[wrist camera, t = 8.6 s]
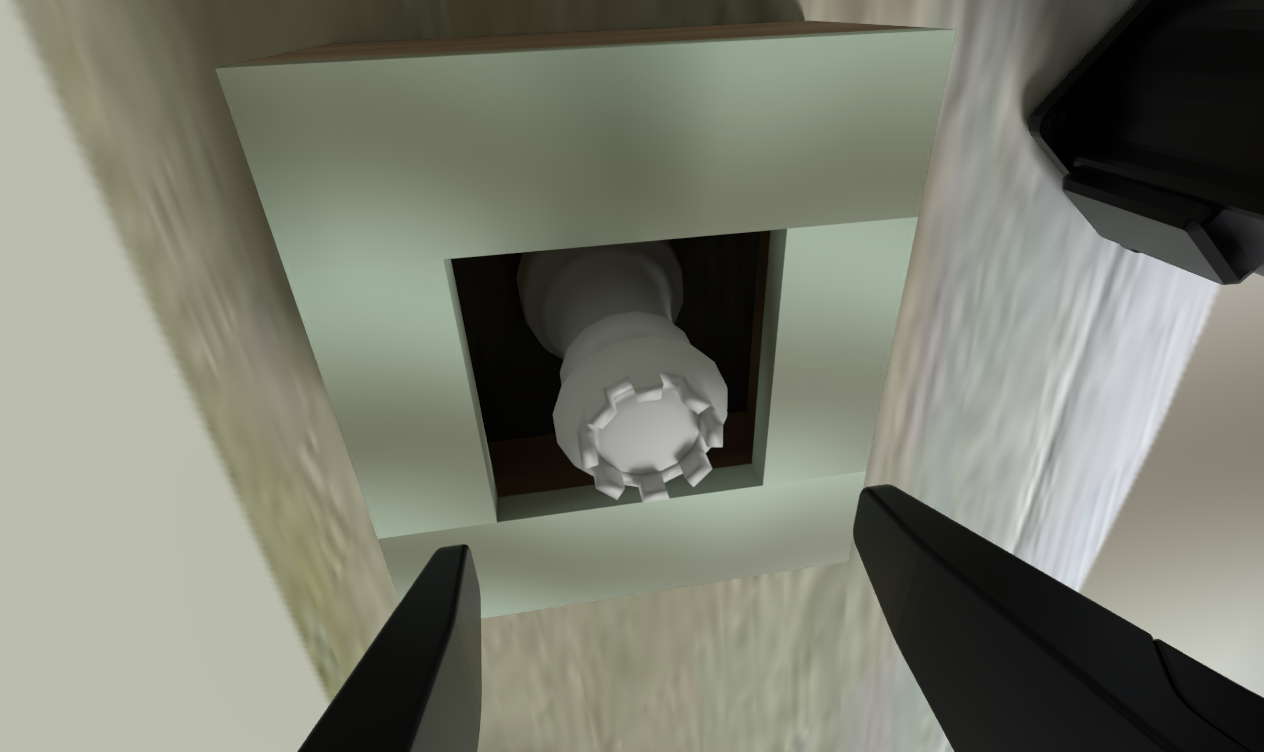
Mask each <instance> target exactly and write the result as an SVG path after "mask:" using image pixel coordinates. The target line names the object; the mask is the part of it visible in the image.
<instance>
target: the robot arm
mask: <svg viewBox="0 0 1264 752" xmlns="http://www.w3.org/2000/svg"><path fill="white" fill-rule="evenodd" d="M1054 114H1055V121H1054V122H1053V124H1052V125H1051V126H1050V127H1049V128H1048V123H1049V120H1050V119H1051V117H1052V116H1053V115H1054ZM1029 131H1030V133H1031V136H1032V137H1033V138H1034V139H1035V141H1036V142H1037V143H1038V144H1039V145H1040V147H1041V148H1042V149H1043V150H1044V152H1045V153H1046V154H1047V155H1048V157H1049V158H1050V159H1051V160H1052V161H1053V163H1054V164H1055V165H1056V166H1057V168H1058V169H1059V170H1060V171H1061V173H1062V174H1063V175H1064V176H1065V177H1064V178H1063V179H1062V190H1063V192H1064V193H1065V194H1066V195H1067V196H1068V198H1069V199H1070V200H1071V201H1072V202H1073V204H1074V205H1075V206H1076V207H1077V208H1078V210H1079V211H1080V212H1081V213H1082V214H1083V216H1084V217H1085V218H1086V219H1087V221H1088V222H1089V223H1090V224H1091V225H1092V227H1093V228H1094V229H1095V230H1096V231H1097V233H1098V234H1099V235H1100V236H1102V237H1103V238H1106V239H1108V240H1111V241H1113V242H1116V243H1119V244H1120V245H1121V246H1122V247H1124V248H1125V249H1128V250H1130V251H1133V252H1135V253H1144V254H1146V255H1149V256H1151V257H1154V258H1156V259H1159V260H1161V261H1164V262H1166V263H1169V264H1171V265H1174V266H1176V267H1179V268H1181V269H1184V270H1186V271H1189V272H1191V273H1194V274H1196V275H1199V276H1201V277H1204V278H1206V279H1209V280H1211V281H1214V282H1216V283H1219V284H1221V285H1228V284H1239V283H1241V282H1242V281H1243V280H1244V279H1246V278H1247V277H1248V276H1249V275H1250V274H1252V273H1256V274H1259V275H1261V276H1264V0H1138V1H1137V3H1136V4H1135V5H1134V6H1133V7H1132V8H1131V9H1130V10H1129V11H1128V12H1127V13H1126V14H1125V15H1124V16H1123V17H1122V18H1121V20H1120V21H1119V22H1118V23H1117V24H1116V25H1115V26H1114V27H1113V28H1112V29H1111V30H1110V31H1109V32H1108V33H1107V34H1106V35H1105V36H1104V38H1103V39H1102V40H1101V41H1100V42H1099V43H1098V44H1097V45H1096V46H1095V47H1094V48H1093V49H1092V50H1091V51H1090V52H1089V53H1088V55H1087V56H1086V57H1085V58H1084V59H1083V60H1082V61H1081V62H1080V63H1079V64H1078V65H1077V66H1076V67H1075V68H1074V69H1073V70H1072V72H1071V73H1070V74H1069V75H1068V76H1067V77H1066V78H1065V79H1064V80H1063V81H1062V82H1061V83H1060V84H1059V85H1058V86H1057V87H1056V88H1055V90H1054V91H1053V92H1052V93H1051V94H1050V95H1049V96H1048V97H1047V98H1046V99H1045V100H1044V101H1043V102H1042V103H1041V104H1040V105H1039V107H1038V108H1037V109H1036V110H1035V112H1034V113H1033V114H1032V116H1031V119H1030V122H1029ZM853 537H854V541H855V544H856V547H857V549H858V552H859V554H860V557H861V559H862V562H863V564H864V567H865V569H866V572H867V574H868V576H869V579H870V581H871V584H872V586H873V589H874V591H875V594H876V596H877V598H878V601H879V603H880V606H881V608H882V611H883V613H884V616H885V618H886V621H887V623H888V625H889V628H890V630H891V632H892V634H893V637H894V639H895V641H896V643H897V645H898V647H899V649H900V651H901V653H902V655H903V657H904V658H905V660H906V662H907V664H908V666H909V668H910V670H911V671H912V673H913V675H914V677H915V679H916V681H917V683H918V685H919V686H920V688H921V690H922V692H923V694H924V696H925V698H926V699H927V701H928V703H929V705H930V707H931V709H932V711H933V713H934V714H935V716H936V718H937V720H938V722H939V724H940V726H941V727H942V729H943V731H944V733H945V735H946V737H947V739H948V740H949V742H950V744H951V746H952V748H953V750H954V752H1264V698H1263V697H1261V696H1259V695H1257V694H1256V693H1254V692H1252V691H1250V690H1248V689H1246V688H1245V687H1243V686H1241V685H1239V684H1237V683H1236V682H1234V681H1232V680H1230V679H1228V678H1227V677H1225V676H1223V675H1221V674H1220V673H1218V672H1216V671H1214V670H1212V669H1210V668H1209V667H1207V666H1205V665H1203V664H1202V663H1200V662H1198V661H1196V660H1194V659H1193V658H1191V657H1189V656H1188V655H1186V654H1184V653H1182V652H1181V651H1179V650H1177V649H1175V648H1174V647H1172V646H1170V645H1168V644H1167V643H1165V642H1163V641H1162V640H1160V639H1153V637H1152V636H1151V634H1149V633H1147V632H1146V631H1144V630H1142V629H1140V628H1139V627H1137V626H1135V625H1134V624H1132V623H1130V622H1128V621H1127V620H1125V619H1123V618H1121V617H1120V616H1118V615H1116V614H1115V613H1113V612H1111V611H1109V610H1108V609H1106V608H1104V607H1102V606H1101V605H1099V604H1097V603H1095V602H1094V601H1092V600H1090V599H1089V598H1087V597H1085V596H1083V595H1082V594H1080V593H1078V592H1076V591H1075V590H1073V589H1071V588H1070V587H1068V586H1066V585H1064V584H1063V583H1061V582H1059V581H1057V580H1056V579H1054V578H1052V577H1051V576H1049V575H1047V574H1045V573H1044V572H1042V571H1040V570H1038V569H1037V568H1035V567H1033V566H1032V565H1030V564H1028V563H1026V562H1025V561H1023V560H1021V559H1019V558H1018V557H1016V556H1014V555H1012V554H1011V553H1009V552H1007V551H1006V550H1004V549H1002V548H1000V547H999V546H997V545H995V544H993V543H992V542H990V541H988V540H987V539H985V538H983V537H981V536H980V535H978V534H976V533H974V532H973V531H971V530H969V529H968V528H966V527H964V526H962V525H961V524H959V523H957V522H955V521H954V520H952V519H950V518H948V517H947V516H945V515H943V514H942V513H940V512H938V511H936V510H935V509H933V508H931V507H929V506H928V505H926V504H924V503H923V502H921V501H919V500H917V499H916V498H914V497H912V496H910V495H909V494H907V493H905V492H904V491H902V490H900V489H898V488H897V487H895V486H892V485H888V484H885V485H878V486H871V487H866V488H864V489H863V490H862V491H861V492H860V495H859V500H858V505H857V510H856V515H855V520H854V525H853ZM481 695H482V679H481V595H480V587H479V582H478V577H477V573H476V569H475V565H474V561H473V557H472V553H471V549H470V547H469V546H468V545H466V544H460V545H453V546H446V547H441V548H439V549H437V550H436V551H435V552H434V554H433V555H432V557H431V558H430V560H429V561H428V563H427V564H426V565H425V567H424V568H423V570H422V571H421V573H420V574H419V576H418V577H417V579H416V580H415V581H414V583H413V584H412V586H411V587H410V589H409V590H408V592H407V593H406V595H405V596H404V597H403V599H402V600H401V602H400V603H399V605H398V606H397V608H396V609H395V611H394V612H393V613H392V615H391V616H390V618H389V619H388V621H387V622H386V624H385V625H384V627H383V628H382V629H381V631H380V632H379V634H378V635H377V637H376V638H375V640H374V641H373V643H372V644H371V645H370V647H369V648H368V650H367V651H366V653H365V654H364V656H363V657H362V659H361V660H360V661H359V663H358V664H357V666H356V667H355V669H354V670H353V672H352V673H351V675H350V676H349V677H348V679H347V680H346V682H345V683H344V685H343V686H342V688H341V689H340V691H339V692H338V693H337V695H336V696H335V698H334V699H333V701H332V702H331V704H330V705H329V707H328V708H327V709H326V711H325V712H324V714H323V715H322V717H321V718H320V720H319V721H318V723H317V724H316V725H315V727H314V728H313V730H312V731H311V733H310V734H309V736H308V737H307V739H306V740H305V742H304V743H303V744H302V746H301V747H300V749H299V750H298V752H477V749H478V740H479V731H480V719H481Z"/></svg>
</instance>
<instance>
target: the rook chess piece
mask: <svg viewBox="0 0 1264 752" xmlns="http://www.w3.org/2000/svg"><path fill="white" fill-rule="evenodd" d="M516 279H517V284H518V290H519V296H520V301H521V307H522V308H523V314H524V319H525V321H526V323H527V324H528V326H529V327H530V328H531V330H532V331H533V333H534V334H535V336H536V337H537V339H538V340H539V342H540V343H541V344H542V346H543V347H544V348H545V349H546V350H548V351H549V352H551V353H553V354H554V355H556V356H557V357H559V358H560V359H562V360H563V364H562V367H561V370H560V377H561V384H562V387H561V390H560V393H559V396H558V399H557V402H556V406H555V409H554V412H553V419H554V425H555V431H556V437H557V443H558V445H559V446H560V447H561V449H562V450H563V451H564V453H565V454H566V455H567V457H568V458H569V459H570V461H571V462H572V463H573V465H574V466H576V467H577V468H579V469H581V470H583V471H585V472H586V473H588V474H590V475H592V476H594V481H595V486H596V489H598V490H600V491H601V492H603V493H605V494H607V495H609V496H611V497H613V498H614V499H616V500H618V498H619V497H620V495H621V494H622V492H623V491H624V489H625V486H624V485H628V486H635V487H639V491H640V495H641V498H642V502H643V504H644V503H650V502H656V501H661V500H667V499H669V496H668V493H667V490H666V487H665V482H667V481H669V480H671V479H673V478H675V477H677V476H679V475H681V474H683V475H684V478H685V479H686V480H687V481H688V482H689V483H690V484H691V485H692V486H693V487H694V486H695V485H696V484H698V483H699V482H700V481H701V480H702V479H703V478H704V477H705V476H706V475H707V474H708V473H709V472H710V471H711V470H712V467H711V465H710V462H709V460H708V458H707V456H706V452H707V451H708V450H709V449H710V448H711V447H723V424H724V422H725V420H726V418H727V386H726V384H725V382H724V380H723V378H722V376H721V374H720V372H719V370H718V368H717V366H716V364H715V362H714V361H712V360H711V359H710V358H708V357H707V356H706V355H704V354H703V353H701V352H700V351H699V350H697V349H696V348H695V347H693V346H692V345H691V344H690V342H689V340H688V338H687V336H686V334H685V332H683V331H682V330H681V329H679V328H678V327H677V326H675V323H676V320H677V317H678V315H679V312H680V310H681V307H682V305H683V275H682V267H681V265H680V263H679V261H678V259H677V255H676V253H675V251H674V249H673V247H672V244H671V242H670V240H669V239H666V240H655V241H644V242H633V243H621V244H610V245H599V246H588V247H577V248H565V249H554V250H543V251H532V252H522V256H521V260H520V264H519V268H518V272H517V276H516Z"/></svg>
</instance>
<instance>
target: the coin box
mask: <svg viewBox="0 0 1264 752" xmlns="http://www.w3.org/2000/svg"><path fill="white" fill-rule="evenodd" d="M956 30H957V29H941V28H924V27H907V26H890V25H873V24H856V23H839V22H821V21H789V22H768V23H748V24H728V25H707V26H687V27H667V28H646V29H626V30H606V31H586V32H565V33H545V34H525V35H504V36H484V37H464V38H443V39H423V40H403V41H383V42H362V43H342V44H326V45H321V46H317V47H312V48H307V49H303V50H298V51H293V52H289V53H284V54H279V55H275V56H270V57H265V58H261V59H256V60H251V61H247V62H242V63H237V64H233V65H228V66H224V67H219V68H215V70H216V73H217V76H218V79H219V82H220V85H221V87H222V90H223V93H224V96H225V99H226V102H227V105H228V108H229V111H230V113H231V116H232V119H233V122H234V125H235V128H236V131H237V134H238V136H239V139H240V142H241V145H242V148H243V151H244V154H245V157H246V160H247V162H248V165H249V168H250V171H251V174H252V177H253V180H254V183H255V186H256V188H257V191H258V194H259V197H260V200H261V203H262V206H263V209H264V212H265V214H266V217H267V220H268V223H269V226H270V229H271V232H272V235H273V237H274V240H275V243H276V246H277V249H278V252H279V255H280V258H281V261H282V263H283V266H284V269H285V272H286V275H287V278H288V281H289V284H290V287H291V289H292V292H293V295H294V298H295V301H296V304H297V307H298V310H299V313H300V315H301V318H302V321H303V324H304V327H305V330H306V333H307V336H308V338H309V341H310V344H311V347H312V350H313V353H314V356H315V359H316V362H317V364H318V367H319V370H320V373H321V376H322V379H323V382H324V385H325V388H326V390H327V393H328V396H329V399H330V402H331V405H332V408H333V411H334V414H335V416H336V419H337V422H338V425H339V428H340V431H341V434H342V437H343V439H344V442H345V445H346V448H347V451H348V454H349V457H350V460H351V463H352V465H353V468H354V471H355V474H356V477H357V480H358V483H359V486H360V489H361V491H362V494H363V497H364V500H365V503H366V506H367V509H368V512H369V515H370V517H371V520H372V523H373V526H374V529H375V532H376V535H377V538H378V540H379V543H380V546H381V549H382V552H383V555H384V558H385V561H386V564H387V566H388V569H389V572H390V575H391V578H392V581H393V584H394V587H395V590H396V592H397V595H398V598H399V601H400V602H401V600H402V599H403V597H404V596H405V595H406V593H407V592H408V590H409V589H410V587H411V586H412V584H413V583H414V581H415V580H416V579H417V577H418V576H419V574H420V573H421V571H422V570H423V568H424V567H425V565H426V564H427V563H428V561H429V560H430V558H431V557H432V555H433V554H434V552H435V551H436V550H437V549H439V548H441V547H446V546H453V545H460V544H466V545H468V546H469V547H470V549H471V553H472V557H473V561H474V565H475V569H476V573H477V577H478V582H479V587H480V595H481V618H487V617H494V616H500V615H507V614H513V613H520V612H526V611H532V610H539V609H545V608H552V607H558V606H564V605H571V604H577V603H584V602H590V601H597V600H603V599H609V598H616V597H622V596H629V595H635V594H641V593H648V592H654V591H661V590H667V589H674V588H680V587H686V586H693V585H699V584H706V583H712V582H718V581H725V580H731V579H738V578H744V577H751V576H757V575H763V574H770V573H776V572H783V571H789V570H795V569H802V568H808V567H815V566H821V565H828V564H834V563H840V562H847V561H848V559H849V554H850V549H851V544H852V539H853V525H854V520H855V515H856V510H857V505H858V500H859V495H860V492H861V491H862V490H863V485H864V480H865V475H866V470H867V465H868V461H869V456H870V451H871V446H872V441H873V436H874V431H875V426H876V421H877V416H878V412H879V407H880V402H881V397H882V392H883V387H884V382H885V377H886V372H887V368H888V363H889V358H890V353H891V348H892V343H893V338H894V333H895V328H896V323H897V319H898V314H899V309H900V304H901V299H902V294H903V289H904V284H905V279H906V274H907V270H908V265H909V260H910V255H911V250H912V245H913V240H914V235H915V230H916V225H917V221H918V216H919V211H920V206H921V201H922V196H923V191H924V186H925V181H926V176H927V172H928V167H929V162H930V157H931V152H932V147H933V142H934V137H935V132H936V127H937V123H938V118H939V113H940V108H941V103H942V98H943V93H944V88H945V83H946V79H947V74H948V69H949V64H950V59H951V54H952V49H953V44H954V39H955V34H956ZM756 231H759V246H758V260H757V274H756V288H755V302H754V316H753V330H752V344H751V358H750V372H749V387H748V401H747V411H739V412H730V413H727V418H726V420H725V422H724V424H723V447H711V448H710V449H709V450H708V451H707V452H706V456H707V458H708V460H709V462H710V465H711V467H712V470H711V471H710V472H709V473H708V474H707V475H706V476H705V477H704V478H703V479H702V480H701V481H700V482H699V483H698V484H696V485H695V486H694V487H693V486H692V485H691V484H690V483H689V482H688V481H687V480H686V479H685V478H684V475H683V474H681V475H679V476H677V477H675V478H673V479H671V480H669V481H667V482H665V487H666V490H667V493H668V496H669V499H667V500H661V501H656V502H650V503H644V504H643V502H642V498H641V495H640V491H639V487H635V486H628V485H624V486H625V489H624V491H623V492H622V494H621V495H620V497H619V498H618V500H616V499H614V498H613V497H611V496H609V495H607V494H605V493H603V492H601V491H600V490H598V489H596V486H595V481H594V476H592V475H590V474H588V473H586V472H585V471H583V470H581V469H579V468H577V467H576V466H574V465H573V463H572V462H571V461H570V459H569V458H568V457H567V455H566V454H565V453H564V451H563V450H562V449H561V447H560V446H559V445H558V443H557V437H556V434H553V435H545V436H537V437H528V438H520V439H512V440H504V441H496V442H488V443H487V440H486V435H485V430H484V424H483V419H482V414H481V409H480V404H479V399H478V394H477V389H476V384H475V379H474V374H473V369H472V364H471V359H470V354H469V349H468V344H467V339H466V333H465V328H464V323H463V318H462V313H461V308H460V303H459V298H458V293H457V288H456V283H455V278H454V273H453V268H452V263H451V259H454V258H465V257H476V256H487V255H498V254H510V253H521V252H532V251H543V250H554V249H565V248H577V247H588V246H599V245H610V244H621V243H633V242H644V241H655V240H666V239H677V238H688V237H700V236H711V235H722V234H733V233H744V232H756Z"/></svg>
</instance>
